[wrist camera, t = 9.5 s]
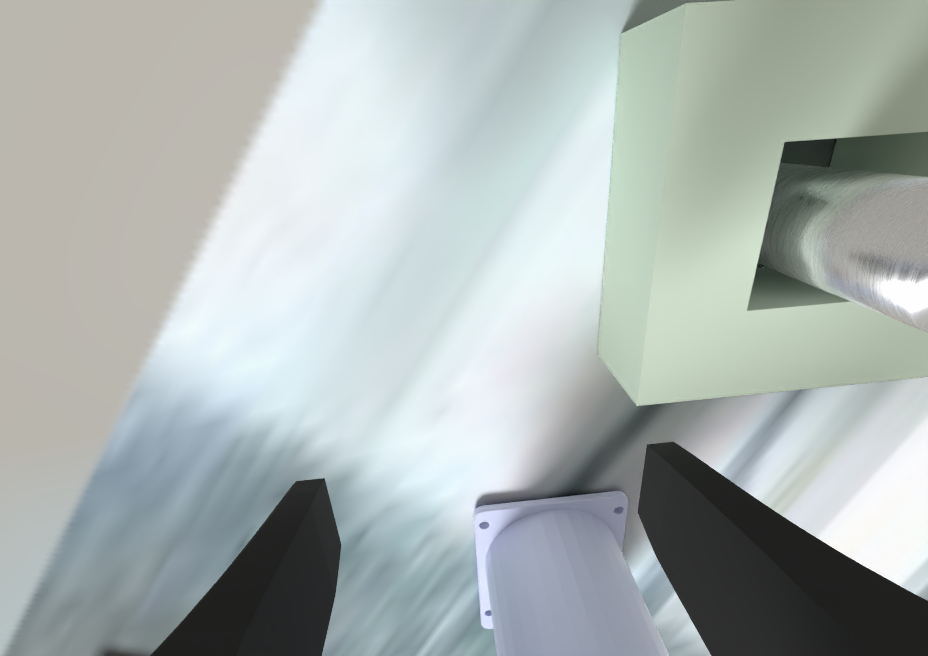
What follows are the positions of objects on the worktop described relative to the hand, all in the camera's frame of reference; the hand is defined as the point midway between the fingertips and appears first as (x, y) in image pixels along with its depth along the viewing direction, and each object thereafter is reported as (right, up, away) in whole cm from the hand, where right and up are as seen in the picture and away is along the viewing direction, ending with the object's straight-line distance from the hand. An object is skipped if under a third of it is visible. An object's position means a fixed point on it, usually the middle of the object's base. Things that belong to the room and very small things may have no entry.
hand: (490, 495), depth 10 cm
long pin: (+11, +8, +8) cm, 16 cm away
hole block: (+11, +9, +7) cm, 16 cm away
